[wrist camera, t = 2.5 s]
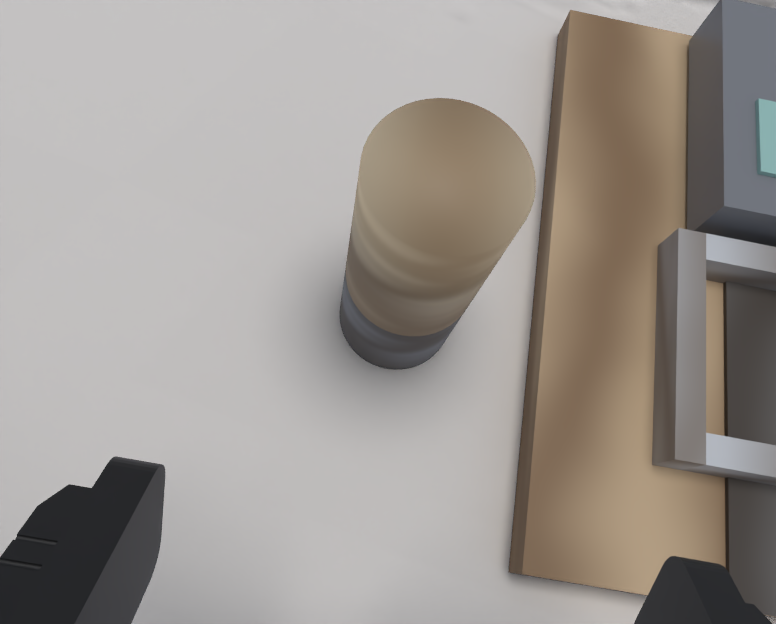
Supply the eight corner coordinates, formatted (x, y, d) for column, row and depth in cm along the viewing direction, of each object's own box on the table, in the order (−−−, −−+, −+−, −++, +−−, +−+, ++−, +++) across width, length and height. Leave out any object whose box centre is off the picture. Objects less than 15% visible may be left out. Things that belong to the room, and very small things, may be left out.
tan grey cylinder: (330, 358, 24) (345, 236, 15) (350, 255, 25) (375, 83, 16) (442, 378, 24) (527, 271, 15) (456, 275, 26) (542, 117, 16)
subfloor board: (508, 572, 22) (537, 575, 20) (557, 35, 30) (584, -19, 27) (969, 650, 23) (1061, 663, 20) (906, 109, 31) (967, 64, 28)
